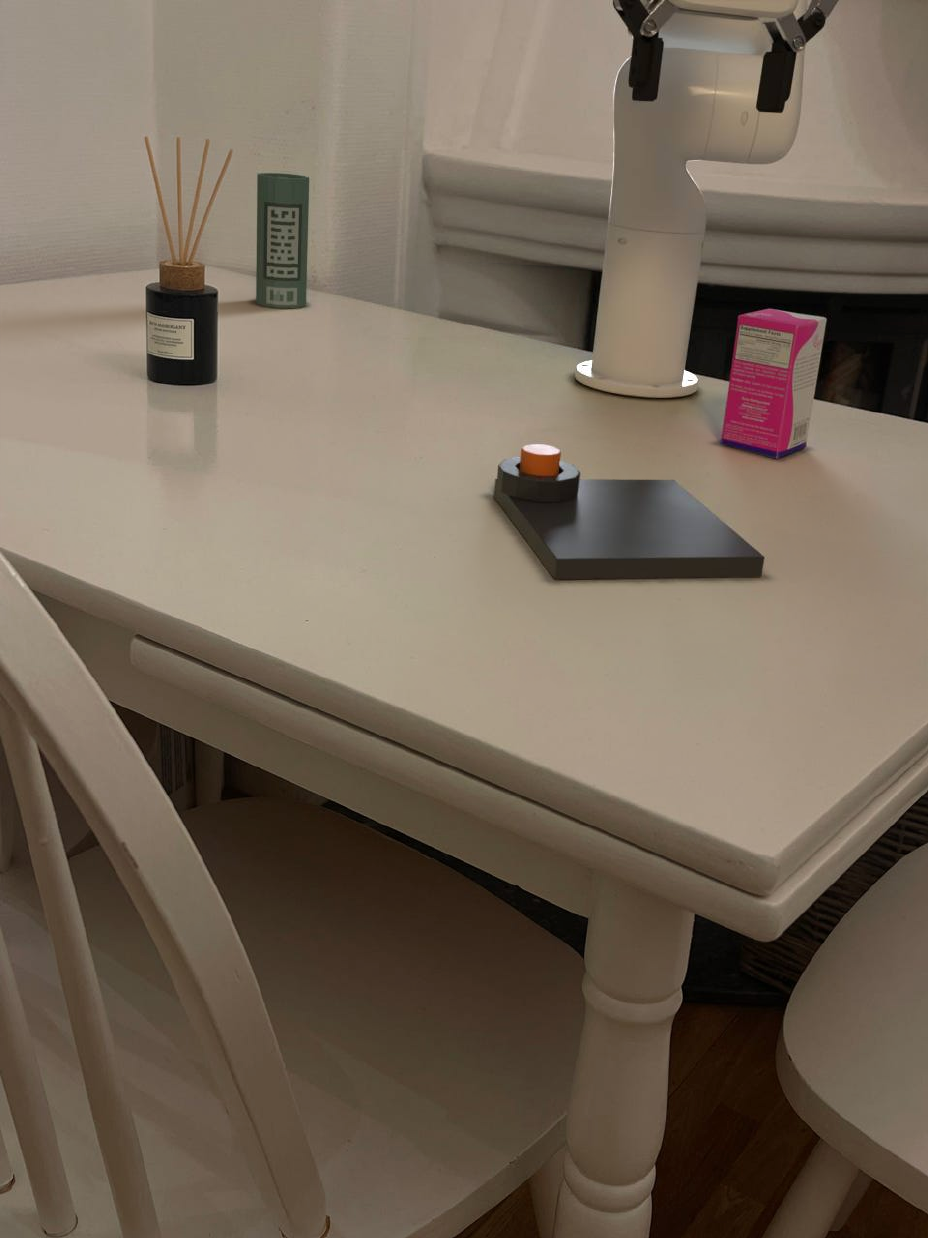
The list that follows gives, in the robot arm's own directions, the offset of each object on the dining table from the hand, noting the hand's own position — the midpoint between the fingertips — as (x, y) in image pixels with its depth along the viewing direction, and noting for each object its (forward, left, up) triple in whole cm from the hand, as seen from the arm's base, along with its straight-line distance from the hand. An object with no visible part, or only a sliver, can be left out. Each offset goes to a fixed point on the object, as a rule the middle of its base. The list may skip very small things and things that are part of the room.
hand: (707, 106), depth 89 cm
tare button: (+8, -12, -25) cm, 29 cm away
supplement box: (-9, +14, -28) cm, 32 cm away
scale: (+13, -7, -27) cm, 31 cm away
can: (-69, -23, -28) cm, 78 cm away
